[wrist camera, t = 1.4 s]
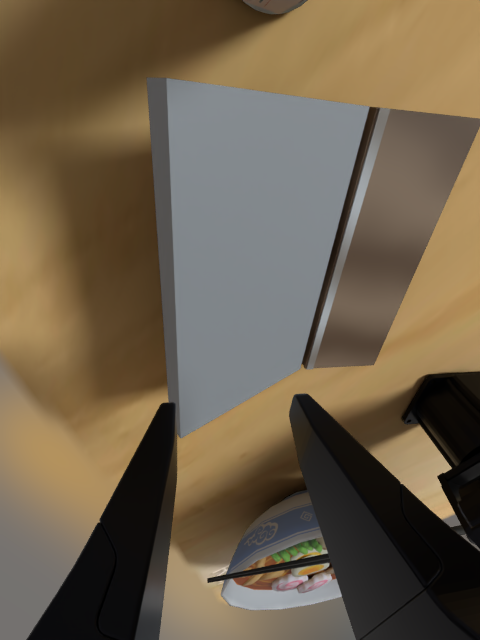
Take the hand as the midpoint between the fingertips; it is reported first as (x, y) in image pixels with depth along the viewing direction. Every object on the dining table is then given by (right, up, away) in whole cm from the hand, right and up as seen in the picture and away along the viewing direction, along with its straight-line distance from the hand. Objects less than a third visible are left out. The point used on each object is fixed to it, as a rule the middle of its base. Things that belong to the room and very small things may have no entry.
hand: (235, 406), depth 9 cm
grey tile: (+1, +5, +7) cm, 8 cm away
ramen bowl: (+8, -20, +30) cm, 37 cm away
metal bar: (+8, +6, +11) cm, 15 cm away
